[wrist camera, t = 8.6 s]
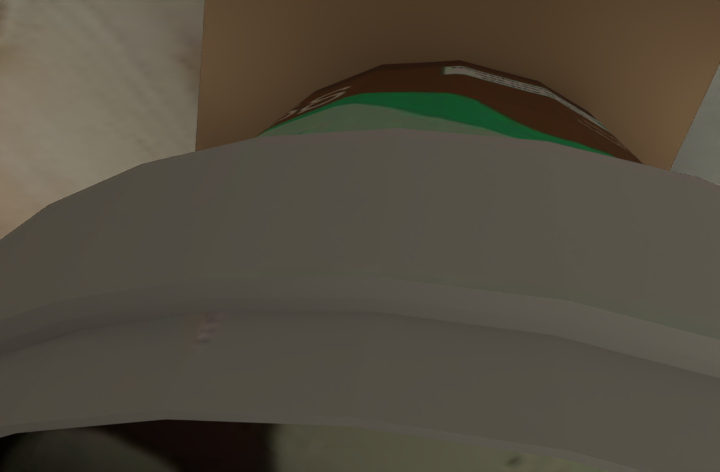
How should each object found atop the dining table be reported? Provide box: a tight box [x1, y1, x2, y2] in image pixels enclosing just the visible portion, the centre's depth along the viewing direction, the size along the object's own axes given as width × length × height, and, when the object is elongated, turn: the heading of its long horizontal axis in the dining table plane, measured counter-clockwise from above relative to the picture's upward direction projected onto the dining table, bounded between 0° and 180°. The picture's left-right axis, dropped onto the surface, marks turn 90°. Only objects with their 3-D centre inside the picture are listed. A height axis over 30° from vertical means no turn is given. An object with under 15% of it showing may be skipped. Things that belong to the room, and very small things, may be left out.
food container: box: [0, 60, 720, 472], centre depth 9 cm, size 12×6×10 cm, turn 146°
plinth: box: [195, 0, 720, 170], centre depth 16 cm, size 14×10×5 cm
